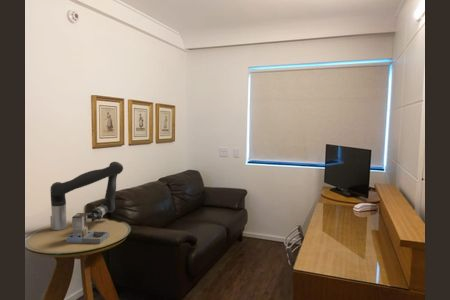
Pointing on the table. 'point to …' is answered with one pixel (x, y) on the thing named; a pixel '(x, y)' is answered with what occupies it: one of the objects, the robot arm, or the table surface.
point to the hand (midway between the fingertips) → (86, 219)
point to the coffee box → (80, 225)
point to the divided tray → (89, 237)
